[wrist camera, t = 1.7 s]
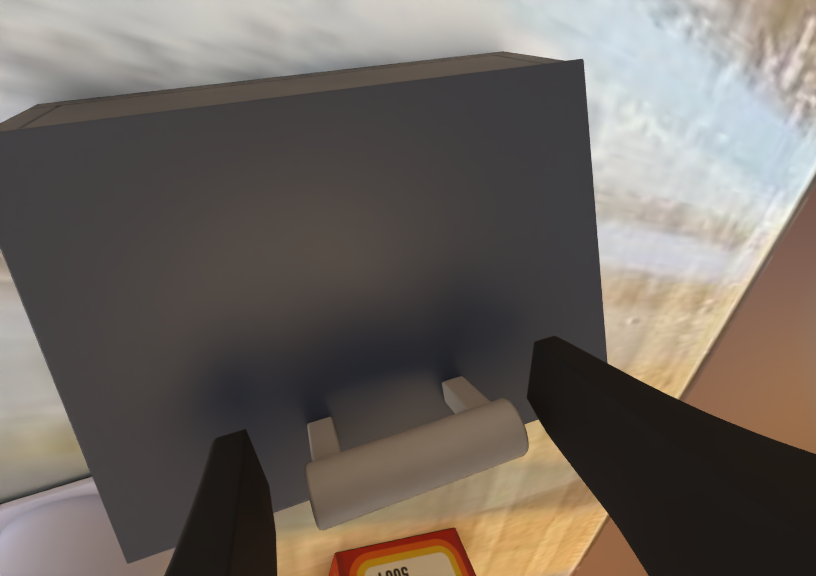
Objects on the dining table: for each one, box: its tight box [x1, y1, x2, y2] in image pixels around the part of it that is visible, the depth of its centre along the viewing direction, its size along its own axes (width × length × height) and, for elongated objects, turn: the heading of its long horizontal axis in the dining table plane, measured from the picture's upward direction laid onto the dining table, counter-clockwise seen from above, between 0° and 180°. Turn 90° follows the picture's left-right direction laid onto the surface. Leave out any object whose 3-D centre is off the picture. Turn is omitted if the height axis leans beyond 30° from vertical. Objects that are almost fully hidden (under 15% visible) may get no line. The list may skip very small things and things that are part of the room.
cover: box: [0, 59, 607, 564], centre depth 11 cm, size 11×15×4 cm
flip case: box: [0, 52, 563, 131], centre depth 16 cm, size 10×15×4 cm
